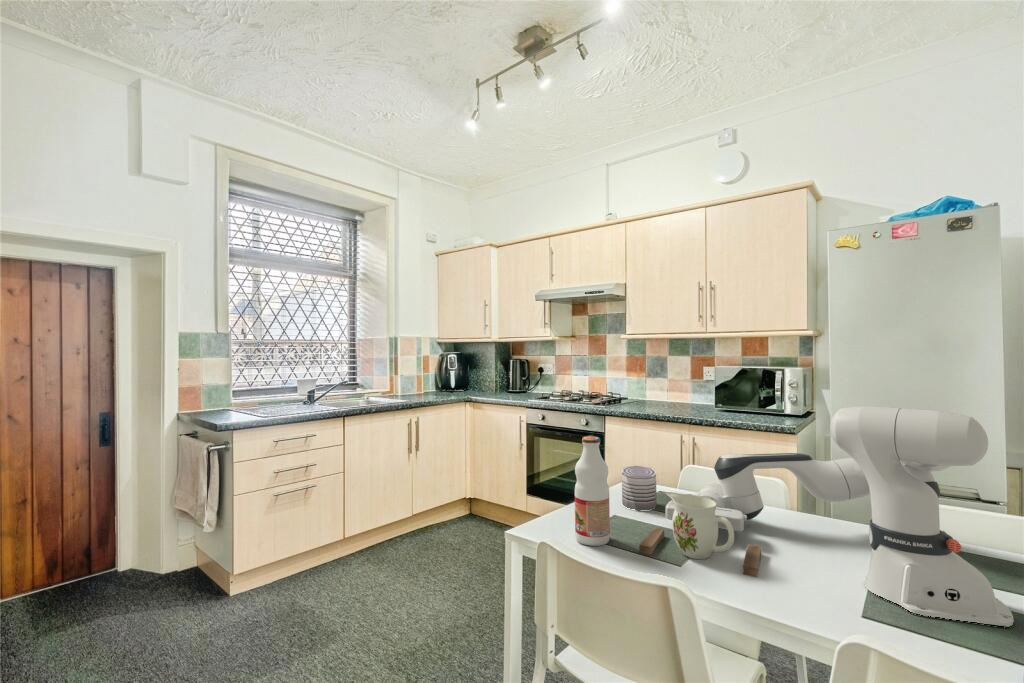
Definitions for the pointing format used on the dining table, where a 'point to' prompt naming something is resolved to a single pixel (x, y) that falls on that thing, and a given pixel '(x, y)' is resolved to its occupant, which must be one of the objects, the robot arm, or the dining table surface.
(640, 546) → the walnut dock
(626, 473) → the can
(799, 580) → the dining table surface
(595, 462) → the fruit juice
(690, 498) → the pitcher
